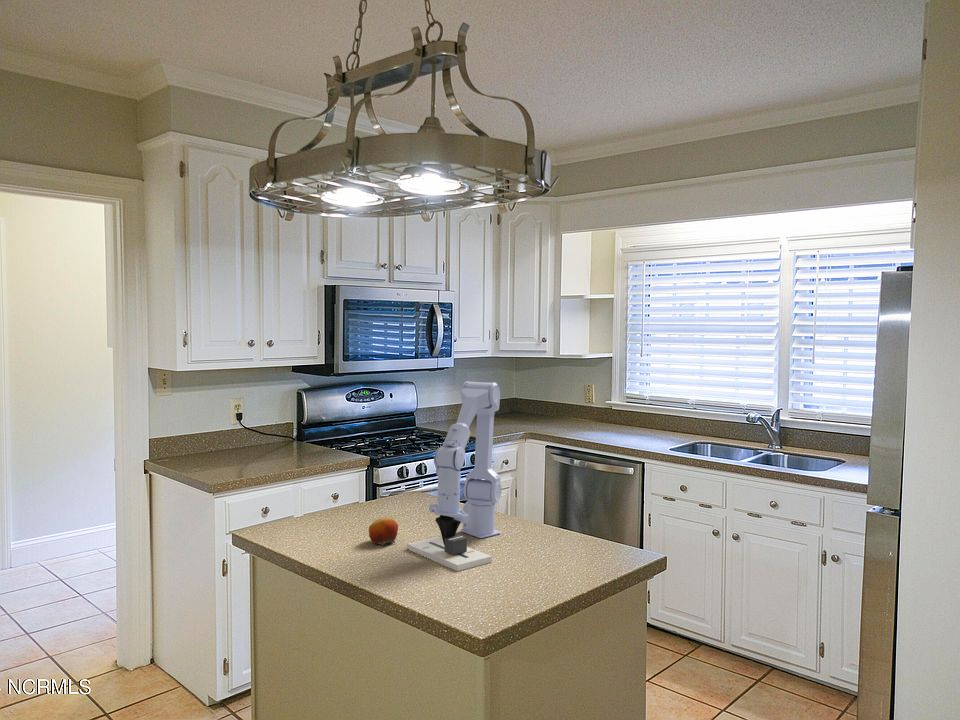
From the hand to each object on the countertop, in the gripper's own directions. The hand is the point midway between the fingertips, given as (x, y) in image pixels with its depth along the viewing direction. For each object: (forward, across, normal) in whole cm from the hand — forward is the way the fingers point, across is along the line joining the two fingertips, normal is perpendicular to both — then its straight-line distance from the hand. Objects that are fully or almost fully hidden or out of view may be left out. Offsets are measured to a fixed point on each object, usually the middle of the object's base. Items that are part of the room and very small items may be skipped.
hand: (448, 544), depth 190 cm
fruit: (+3, -20, -7) cm, 22 cm away
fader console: (+3, 0, 0) cm, 3 cm away
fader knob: (+1, +3, 0) cm, 3 cm away
